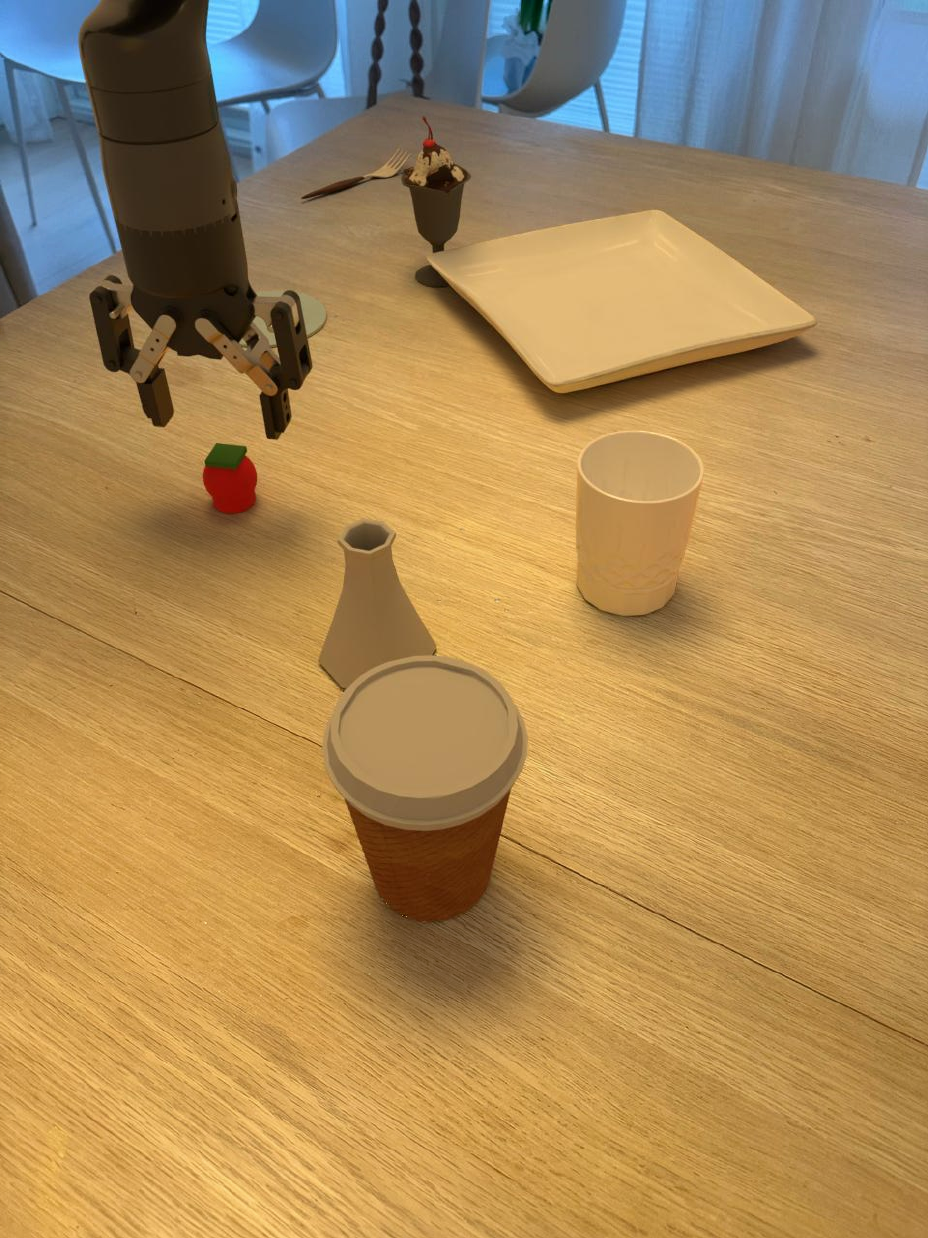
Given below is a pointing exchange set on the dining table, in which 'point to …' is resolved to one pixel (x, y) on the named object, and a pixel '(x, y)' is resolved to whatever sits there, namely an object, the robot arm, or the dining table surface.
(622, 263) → the square plate
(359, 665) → the flask
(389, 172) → the fork
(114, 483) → the dining table surface
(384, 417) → the dining table surface
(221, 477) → the strawberry
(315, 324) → the saucer
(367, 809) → the disposable coffee cup
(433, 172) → the sundae
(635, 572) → the white cup
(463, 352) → the dining table surface
